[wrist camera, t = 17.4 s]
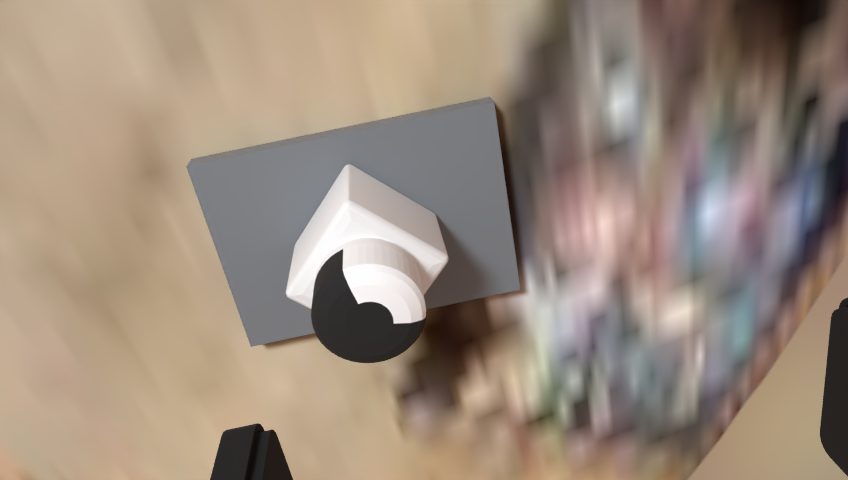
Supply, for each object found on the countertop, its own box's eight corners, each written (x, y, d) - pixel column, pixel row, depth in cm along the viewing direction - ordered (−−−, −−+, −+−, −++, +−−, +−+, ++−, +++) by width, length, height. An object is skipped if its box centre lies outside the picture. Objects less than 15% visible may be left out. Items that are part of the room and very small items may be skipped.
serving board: (489, 97, 43) (494, 102, 42) (515, 280, 49) (520, 289, 48) (191, 159, 43) (186, 166, 42) (253, 335, 49) (251, 346, 48)
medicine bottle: (381, 292, 47) (390, 399, 36) (292, 246, 45) (273, 344, 34) (437, 213, 45) (464, 301, 34) (347, 160, 43) (345, 235, 32)
